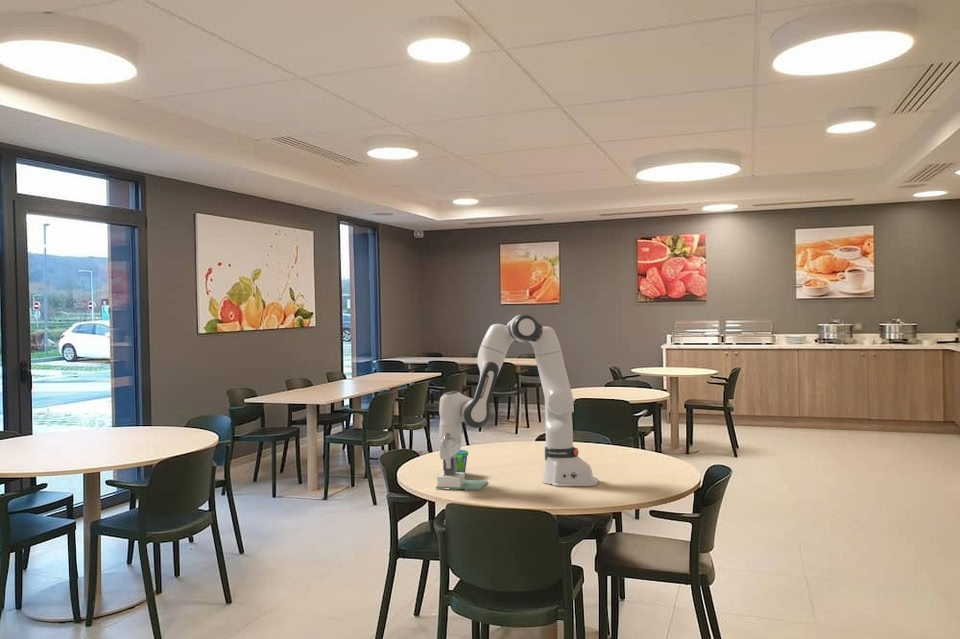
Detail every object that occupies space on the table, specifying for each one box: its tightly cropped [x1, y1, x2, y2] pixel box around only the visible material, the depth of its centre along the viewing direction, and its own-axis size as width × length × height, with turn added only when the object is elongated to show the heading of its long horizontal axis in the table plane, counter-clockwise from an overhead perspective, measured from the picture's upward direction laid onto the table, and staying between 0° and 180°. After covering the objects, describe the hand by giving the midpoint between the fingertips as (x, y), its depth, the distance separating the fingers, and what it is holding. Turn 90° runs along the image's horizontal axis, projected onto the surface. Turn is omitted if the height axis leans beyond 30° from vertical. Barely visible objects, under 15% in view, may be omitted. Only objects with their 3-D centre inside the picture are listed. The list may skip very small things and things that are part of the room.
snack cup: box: [456, 449, 469, 474], centre depth 293 cm, size 16×10×10 cm
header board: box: [435, 471, 488, 492], centre depth 273 cm, size 18×14×5 cm
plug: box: [442, 455, 456, 474], centre depth 272 cm, size 5×4×7 cm
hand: (450, 466), depth 272 cm, fingers closed on plug, 4 cm apart
